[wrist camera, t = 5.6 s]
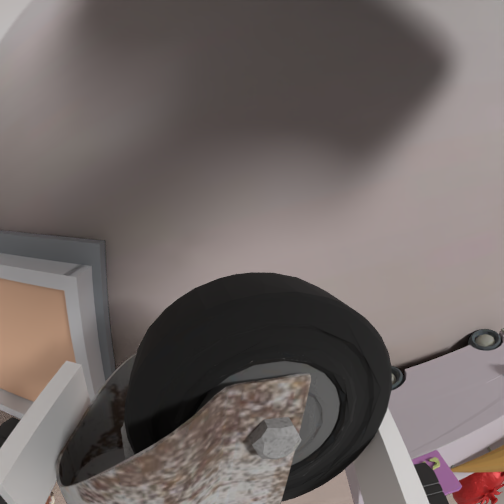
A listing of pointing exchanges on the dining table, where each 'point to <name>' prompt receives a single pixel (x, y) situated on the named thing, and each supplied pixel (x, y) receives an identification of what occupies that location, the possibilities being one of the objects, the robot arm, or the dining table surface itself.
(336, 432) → the caster wheel
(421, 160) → the dining table surface
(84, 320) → the tray
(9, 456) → the robot arm
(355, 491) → the toy vehicle
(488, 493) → the pomegranate
